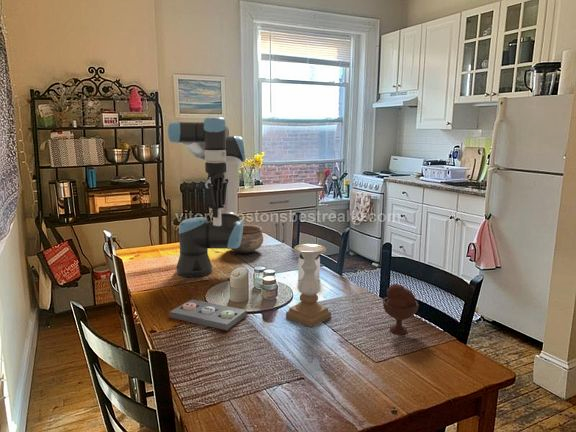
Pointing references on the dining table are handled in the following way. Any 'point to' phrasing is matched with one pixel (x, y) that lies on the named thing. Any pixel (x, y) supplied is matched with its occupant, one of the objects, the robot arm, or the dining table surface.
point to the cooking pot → (250, 239)
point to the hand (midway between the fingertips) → (217, 225)
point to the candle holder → (309, 290)
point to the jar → (300, 270)
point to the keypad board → (205, 319)
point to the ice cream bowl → (399, 306)
